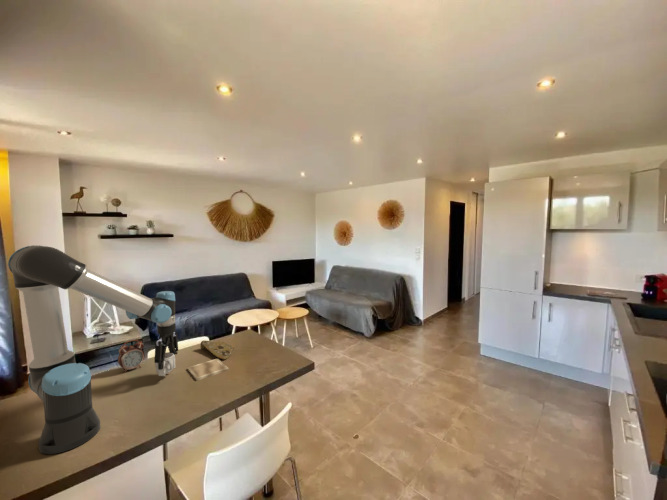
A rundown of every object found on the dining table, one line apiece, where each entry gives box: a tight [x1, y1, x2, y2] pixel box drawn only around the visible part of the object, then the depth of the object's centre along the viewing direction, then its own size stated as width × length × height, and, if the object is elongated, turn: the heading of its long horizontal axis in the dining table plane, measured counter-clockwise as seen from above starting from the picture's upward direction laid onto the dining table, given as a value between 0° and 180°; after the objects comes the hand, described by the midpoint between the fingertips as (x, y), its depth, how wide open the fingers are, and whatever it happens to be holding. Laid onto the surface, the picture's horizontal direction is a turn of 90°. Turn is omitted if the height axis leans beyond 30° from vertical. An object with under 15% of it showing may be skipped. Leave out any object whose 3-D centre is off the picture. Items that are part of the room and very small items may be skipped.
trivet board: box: [187, 357, 229, 381], centre depth 141 cm, size 15×15×1 cm
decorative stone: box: [200, 340, 235, 360], centre depth 162 cm, size 25×15×5 cm, turn 47°
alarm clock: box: [117, 339, 146, 373], centre depth 142 cm, size 11×5×15 cm, turn 144°
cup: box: [154, 351, 174, 375], centre depth 133 cm, size 11×8×8 cm
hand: (167, 371), depth 134 cm, fingers closed on cup, 7 cm apart
